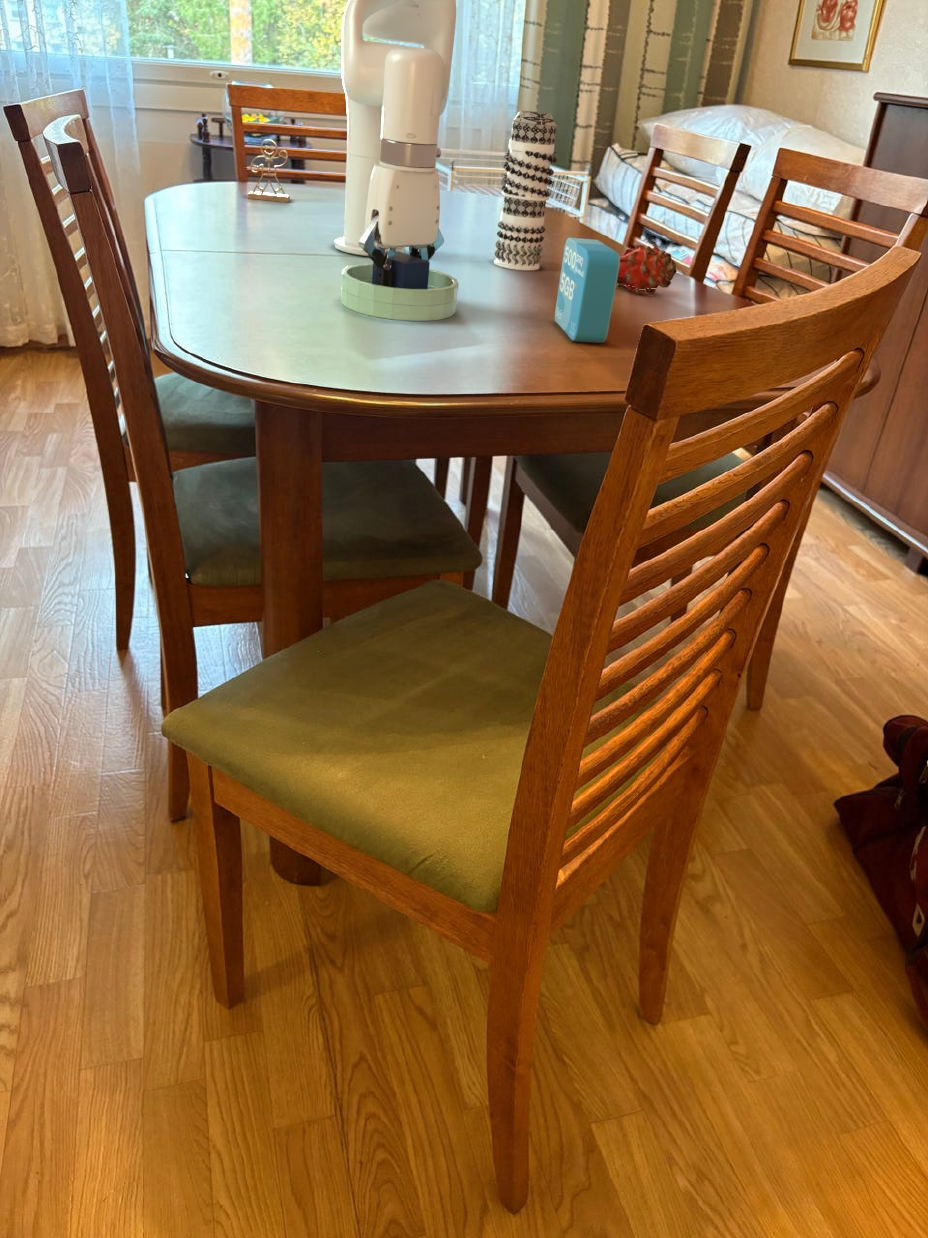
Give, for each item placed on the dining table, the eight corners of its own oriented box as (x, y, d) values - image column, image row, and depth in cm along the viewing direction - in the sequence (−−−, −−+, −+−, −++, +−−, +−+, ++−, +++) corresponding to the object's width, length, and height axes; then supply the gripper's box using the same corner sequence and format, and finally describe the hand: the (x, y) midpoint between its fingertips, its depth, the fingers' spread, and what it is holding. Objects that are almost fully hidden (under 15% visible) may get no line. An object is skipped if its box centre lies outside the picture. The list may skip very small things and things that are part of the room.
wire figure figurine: (247, 198, 211) (246, 137, 205) (249, 195, 214) (249, 136, 208) (288, 202, 212) (289, 142, 206) (290, 199, 215) (290, 140, 209)
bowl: (406, 291, 148) (408, 261, 146) (478, 317, 138) (481, 285, 136) (318, 298, 138) (319, 266, 136) (388, 328, 128) (390, 293, 126)
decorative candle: (548, 266, 178) (570, 115, 165) (530, 273, 171) (551, 115, 158) (503, 257, 181) (521, 108, 168) (484, 263, 174) (501, 108, 161)
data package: (553, 321, 141) (565, 235, 135) (582, 323, 142) (596, 237, 136) (574, 344, 131) (589, 252, 125) (606, 346, 132) (622, 254, 126)
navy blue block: (395, 296, 142) (398, 250, 138) (426, 308, 137) (429, 261, 134) (370, 299, 139) (373, 252, 135) (401, 311, 135) (404, 263, 131)
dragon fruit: (675, 306, 166) (605, 308, 168) (674, 269, 170) (605, 270, 171) (680, 270, 159) (607, 272, 160) (679, 232, 162) (607, 234, 163)
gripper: (438, 152, 135) (427, 285, 145) (340, 150, 125) (335, 293, 135) (473, 161, 131) (460, 297, 140) (374, 159, 121) (367, 307, 130)
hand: (399, 294), depth 137 cm, fingers closed on navy blue block, 4 cm apart
